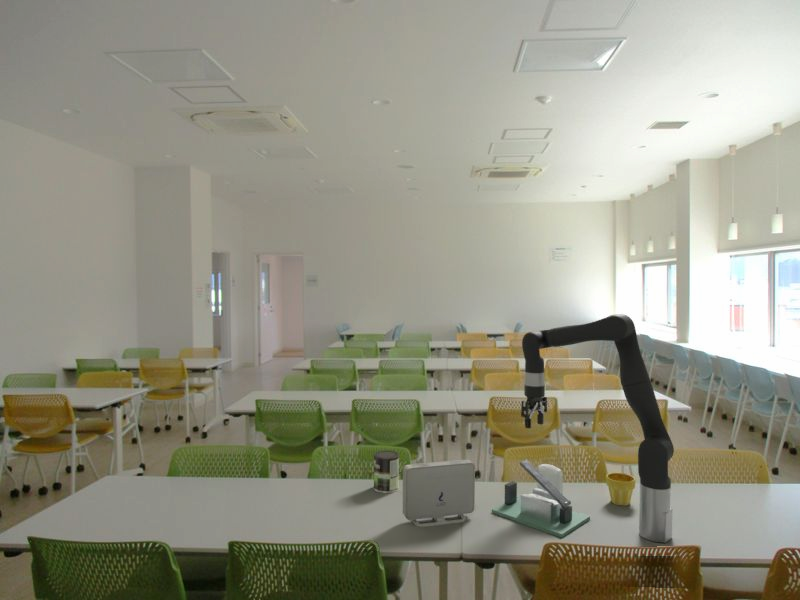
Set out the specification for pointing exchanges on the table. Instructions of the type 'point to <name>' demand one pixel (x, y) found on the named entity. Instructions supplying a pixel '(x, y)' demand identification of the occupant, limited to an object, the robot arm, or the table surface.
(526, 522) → the mainboard
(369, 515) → the table surface
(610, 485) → the plant pot
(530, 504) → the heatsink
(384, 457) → the coffee can
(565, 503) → the grey flat bar
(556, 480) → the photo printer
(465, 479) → the network device
